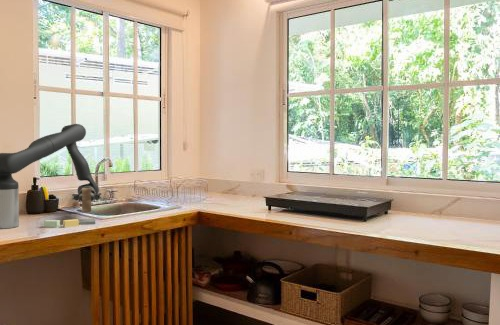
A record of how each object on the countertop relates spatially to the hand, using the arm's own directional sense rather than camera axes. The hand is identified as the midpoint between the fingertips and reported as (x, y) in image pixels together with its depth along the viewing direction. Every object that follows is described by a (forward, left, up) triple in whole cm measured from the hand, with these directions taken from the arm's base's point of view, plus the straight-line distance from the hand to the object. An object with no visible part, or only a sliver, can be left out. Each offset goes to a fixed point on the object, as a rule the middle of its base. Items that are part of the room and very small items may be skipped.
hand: (86, 198), depth 208 cm
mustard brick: (-7, -4, -12) cm, 14 cm away
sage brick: (-15, -3, -12) cm, 19 cm away
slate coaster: (0, +3, -12) cm, 12 cm away
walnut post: (0, +3, -6) cm, 7 cm away
